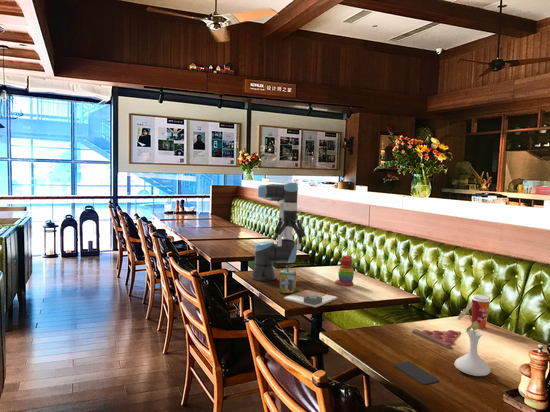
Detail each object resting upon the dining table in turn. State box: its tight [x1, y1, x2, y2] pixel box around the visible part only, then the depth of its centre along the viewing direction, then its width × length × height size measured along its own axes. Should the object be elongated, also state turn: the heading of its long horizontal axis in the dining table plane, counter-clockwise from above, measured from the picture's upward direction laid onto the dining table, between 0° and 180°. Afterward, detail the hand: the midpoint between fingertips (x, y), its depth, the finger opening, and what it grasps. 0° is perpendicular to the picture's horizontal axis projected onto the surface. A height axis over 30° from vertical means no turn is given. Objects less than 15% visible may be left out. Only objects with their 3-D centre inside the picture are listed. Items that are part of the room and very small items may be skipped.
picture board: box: [283, 289, 338, 308], centre depth 224 cm, size 20×21×4 cm
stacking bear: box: [334, 255, 355, 287], centre depth 257 cm, size 11×10×18 cm
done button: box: [309, 294, 317, 300], centre depth 215 cm, size 4×4×2 cm
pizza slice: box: [411, 328, 462, 349], centre depth 177 cm, size 18×2×20 cm
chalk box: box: [279, 264, 297, 294], centre depth 237 cm, size 9×9×15 cm
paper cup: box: [470, 294, 491, 330], centre depth 189 cm, size 8×8×14 cm
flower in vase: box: [454, 301, 492, 377], centre depth 144 cm, size 13×11×25 cm
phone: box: [393, 360, 440, 386], centre depth 142 cm, size 7×1×15 cm
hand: (289, 247), depth 236 cm, fingers open, 13 cm apart
